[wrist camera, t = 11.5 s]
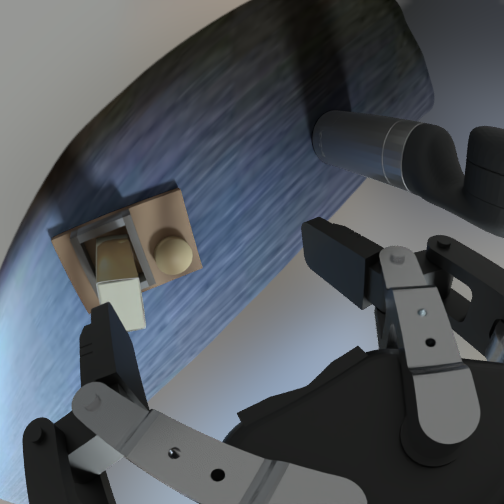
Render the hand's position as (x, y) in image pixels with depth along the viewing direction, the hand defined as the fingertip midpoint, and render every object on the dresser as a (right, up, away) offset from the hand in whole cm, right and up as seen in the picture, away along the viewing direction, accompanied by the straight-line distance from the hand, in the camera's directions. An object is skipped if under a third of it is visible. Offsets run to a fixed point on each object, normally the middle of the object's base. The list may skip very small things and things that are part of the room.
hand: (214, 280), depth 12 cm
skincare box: (-16, +1, +26) cm, 31 cm away
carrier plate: (-15, +1, +27) cm, 31 cm away
